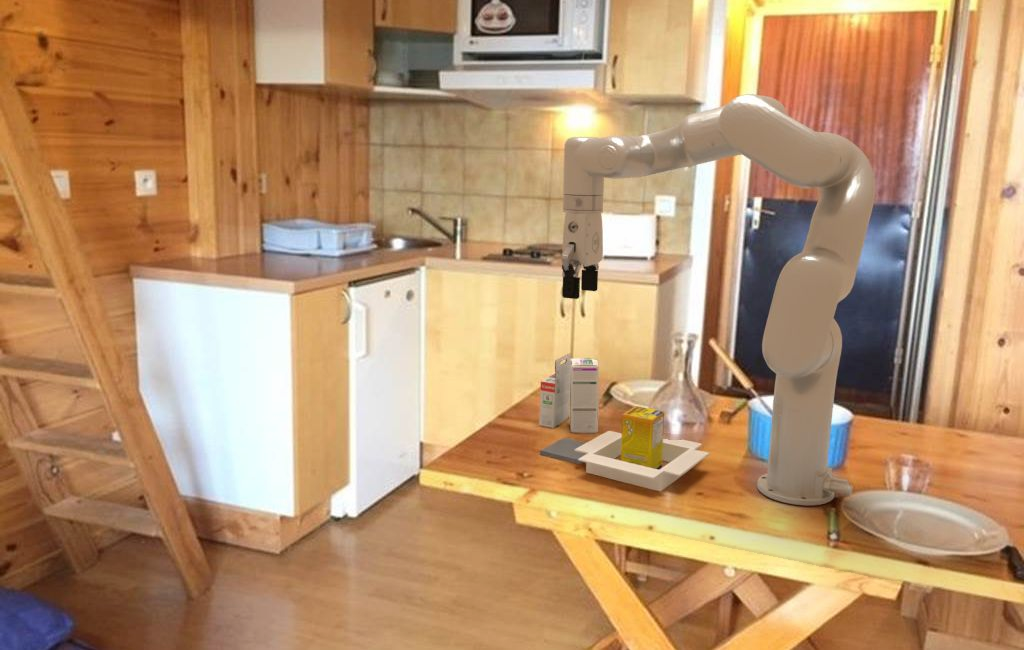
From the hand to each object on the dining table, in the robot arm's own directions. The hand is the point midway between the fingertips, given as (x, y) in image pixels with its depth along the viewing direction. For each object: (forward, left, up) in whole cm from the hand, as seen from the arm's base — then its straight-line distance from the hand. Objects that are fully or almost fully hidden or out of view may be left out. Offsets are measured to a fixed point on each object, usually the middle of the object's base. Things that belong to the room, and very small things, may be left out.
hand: (580, 294), depth 164 cm
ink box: (+10, -8, -30) cm, 32 cm away
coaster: (-3, +6, -30) cm, 30 cm away
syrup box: (+3, -8, -30) cm, 31 cm away
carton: (-17, +6, -30) cm, 35 cm away
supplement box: (-17, +6, -30) cm, 35 cm away
